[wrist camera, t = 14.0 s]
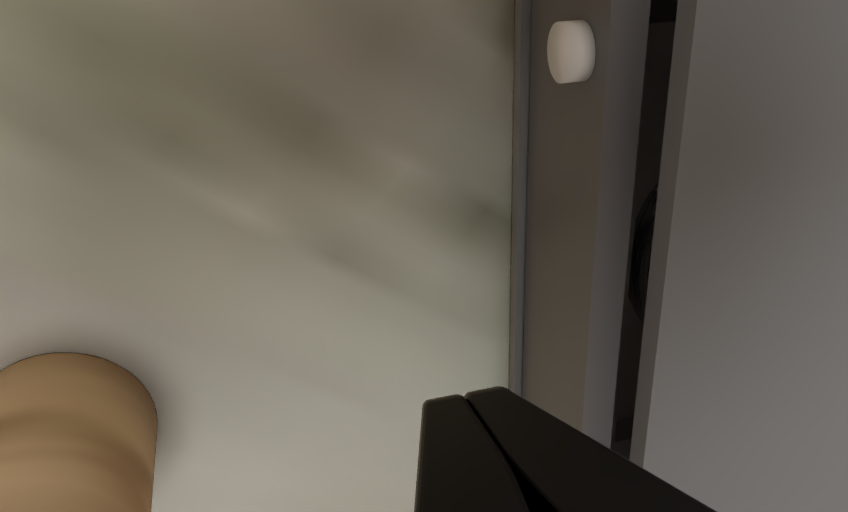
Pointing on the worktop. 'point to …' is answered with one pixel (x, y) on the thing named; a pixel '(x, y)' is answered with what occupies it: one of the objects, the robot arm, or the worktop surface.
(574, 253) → the tray
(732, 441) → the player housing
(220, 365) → the worktop surface
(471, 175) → the worktop surface
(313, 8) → the worktop surface
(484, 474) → the robot arm
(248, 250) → the worktop surface
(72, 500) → the oak stand
